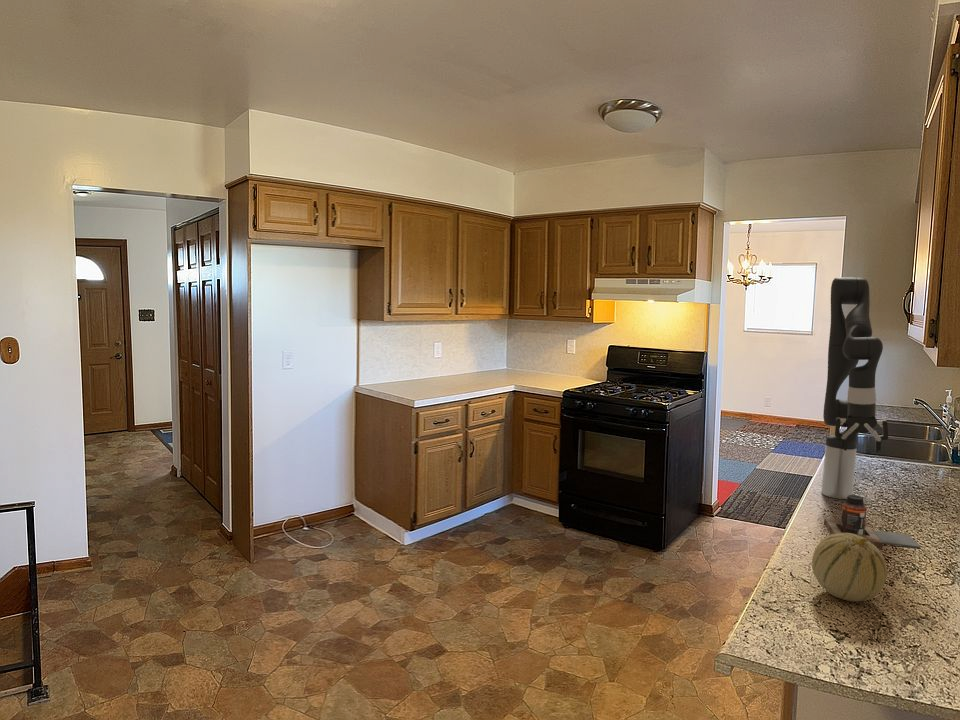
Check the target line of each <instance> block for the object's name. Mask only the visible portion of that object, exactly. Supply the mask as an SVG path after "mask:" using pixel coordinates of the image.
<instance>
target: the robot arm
mask: <svg viewBox="0 0 960 720" xmlns="http://www.w3.org/2000/svg"><path fill="white" fill-rule="evenodd" d="M869 285H870V284H869V282H868V279H866V278H863V277H850V276H848V277H847V276H846V277H845V276H841V277H835V278H833V280H832V281H831V286H830V329H829V338H828V339H829V340H828V348H827V349H828V352H827V376H826V377H827V378H826V380H827V381H826V388H825V396H824V405H823V422H824V424H825V425H826V426H829V427H835V428H834V434H830V435H828V436H827V437H826V438H825V449H824V462H823V473H822V482H821V494H822V495H823V496H826V497H829V498H833V499H838V500H839V499H840V500H847V496H848V495H853V490H854V481H855V470H856V462H857V461H856V459H857V448H858V447H857V446H858V439H859V434H860V433H861V434H869V433H870V434H871V436H873V437H874V439H875V442H874V443H875V445H874V449H875V453H877V454H878V453H879V452H881V450H882V442H883V441H884V440H889V424H888V420H887V419H885V418H883V419H877V418H876V412H877V410H876V409H877V407H876V405H877V398H876V397H877V393H876V374H877V373H876V372H877V368H878V364H879V362H880V359H881V356H882V353H883V349H884V346H883V345H884V344H883V342H882V340H881V339H880V338H879V337H877V336H873V329H872V324H871V318H870V306H871V305H870V286H869ZM843 305H856V306H855V307H854V308H852V310H850V311H849V312H848V314H847V315H846V316H845V314H844V311H843ZM859 361H867V362H865V364H863V365H860V366H857V365H858V364H859ZM847 378H848V390H847V398H846V399H837V394H838V392H839V390H840V387H841V386H842V384H843V383H844V382H845V381H846V379H847ZM877 425H879V427H881V428H882V434H881V435H880V434H879V433H878V432H877V430H876V429H875V427H876V426H877ZM841 428H846V429H844V430H843V431H841ZM840 431H841V432H840Z"/></svg>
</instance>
